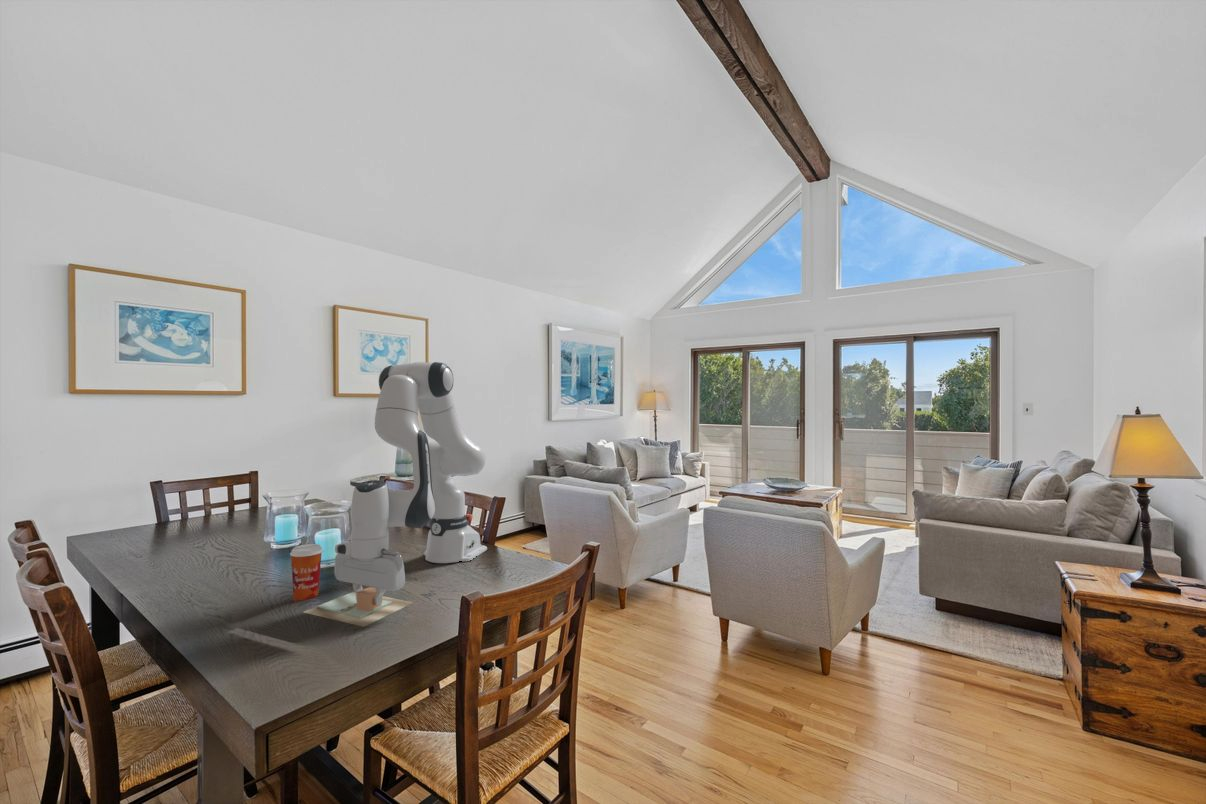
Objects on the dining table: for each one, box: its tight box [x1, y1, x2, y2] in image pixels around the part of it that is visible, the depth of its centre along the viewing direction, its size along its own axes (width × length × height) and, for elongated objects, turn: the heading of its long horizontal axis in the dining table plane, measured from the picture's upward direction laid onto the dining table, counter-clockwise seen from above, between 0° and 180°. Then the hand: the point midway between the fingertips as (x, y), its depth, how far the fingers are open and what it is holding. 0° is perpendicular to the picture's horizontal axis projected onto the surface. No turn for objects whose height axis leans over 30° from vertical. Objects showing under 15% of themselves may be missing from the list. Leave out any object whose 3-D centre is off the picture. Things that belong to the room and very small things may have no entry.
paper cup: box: [289, 543, 324, 602], centre depth 140 cm, size 8×8×14 cm
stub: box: [345, 586, 392, 618], centre depth 131 cm, size 10×5×4 cm, turn 157°
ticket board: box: [303, 590, 414, 627], centre depth 133 cm, size 16×20×2 cm
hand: (369, 602), depth 131 cm, fingers closed on stub, 4 cm apart
